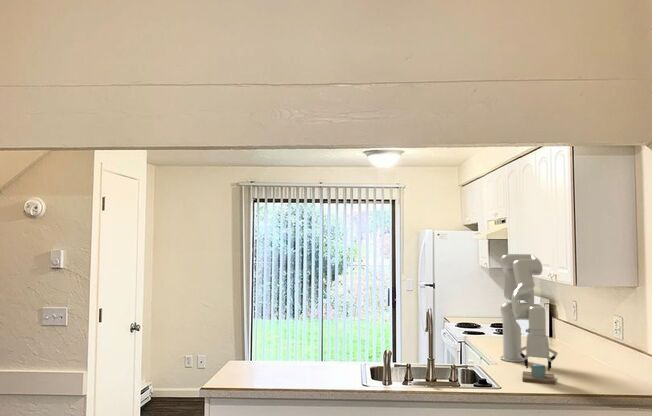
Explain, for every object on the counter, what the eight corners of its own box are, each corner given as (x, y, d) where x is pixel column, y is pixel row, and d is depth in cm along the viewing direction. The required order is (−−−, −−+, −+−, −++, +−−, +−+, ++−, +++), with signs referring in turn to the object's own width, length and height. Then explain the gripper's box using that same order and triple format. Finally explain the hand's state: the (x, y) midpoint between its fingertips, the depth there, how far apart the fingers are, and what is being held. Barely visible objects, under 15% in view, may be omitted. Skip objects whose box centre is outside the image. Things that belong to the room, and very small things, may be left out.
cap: (531, 373, 246) (531, 363, 246) (545, 375, 244) (544, 364, 244) (531, 376, 240) (531, 366, 241) (545, 378, 238) (545, 367, 238)
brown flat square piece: (522, 374, 251) (522, 371, 251) (554, 377, 246) (553, 374, 246) (522, 381, 238) (522, 378, 238) (555, 384, 233) (555, 381, 233)
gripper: (517, 332, 243) (518, 368, 242) (557, 335, 237) (558, 372, 236) (518, 329, 250) (518, 365, 249) (556, 332, 244) (557, 368, 243)
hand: (537, 368), depth 243 cm, fingers open, 9 cm apart
